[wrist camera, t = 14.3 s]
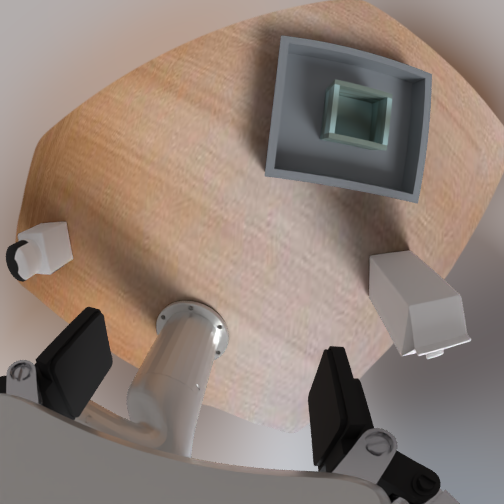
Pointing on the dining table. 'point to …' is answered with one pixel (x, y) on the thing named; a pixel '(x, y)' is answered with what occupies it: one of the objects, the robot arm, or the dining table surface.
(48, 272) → the medicine bottle
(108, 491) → the robot arm
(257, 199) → the dining table surface
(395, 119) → the charcoal crate
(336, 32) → the dining table surface
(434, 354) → the milk carton
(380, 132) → the teal crate
